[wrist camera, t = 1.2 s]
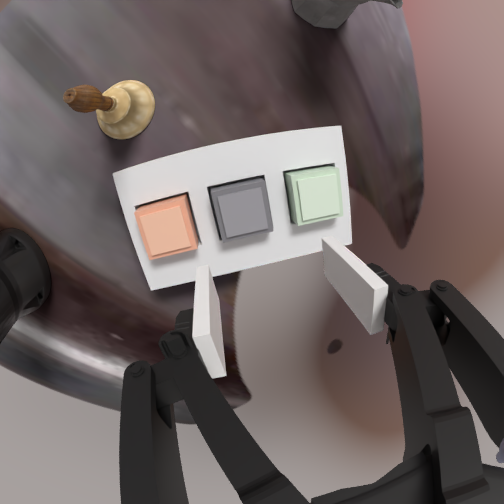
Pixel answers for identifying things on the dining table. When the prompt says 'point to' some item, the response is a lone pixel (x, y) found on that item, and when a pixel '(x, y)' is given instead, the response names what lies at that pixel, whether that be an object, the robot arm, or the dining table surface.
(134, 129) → the hand bell
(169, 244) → the terracotta key
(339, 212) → the sage key
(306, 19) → the coffeepot
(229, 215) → the charcoal key
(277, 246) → the white button panel
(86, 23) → the dining table surface
